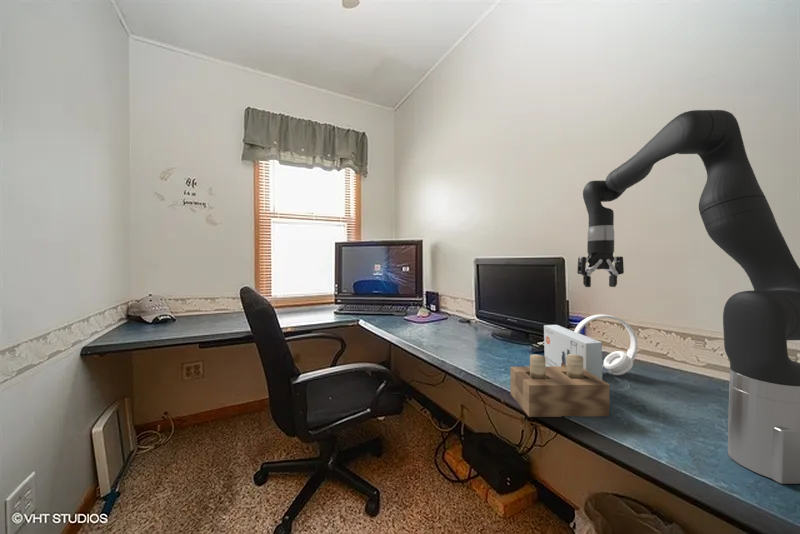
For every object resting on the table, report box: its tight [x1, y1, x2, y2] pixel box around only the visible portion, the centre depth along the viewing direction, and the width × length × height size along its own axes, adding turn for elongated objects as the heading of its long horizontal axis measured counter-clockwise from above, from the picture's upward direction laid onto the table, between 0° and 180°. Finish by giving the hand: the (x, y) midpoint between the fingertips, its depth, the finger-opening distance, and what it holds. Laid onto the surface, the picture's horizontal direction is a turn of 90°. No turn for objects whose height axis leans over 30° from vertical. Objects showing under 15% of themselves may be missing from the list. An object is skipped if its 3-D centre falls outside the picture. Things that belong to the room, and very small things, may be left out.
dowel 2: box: [567, 354, 583, 379], centre depth 77 cm, size 4×4×8 cm
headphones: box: [573, 313, 639, 376], centre depth 97 cm, size 8×19×20 cm, turn 78°
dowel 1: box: [529, 354, 546, 379], centre depth 77 cm, size 4×4×8 cm
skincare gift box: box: [543, 324, 603, 380], centre depth 91 cm, size 21×5×16 cm, turn 4°
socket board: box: [510, 366, 611, 418], centre depth 77 cm, size 20×12×8 cm, turn 90°
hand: (600, 286), depth 98 cm, fingers open, 8 cm apart
